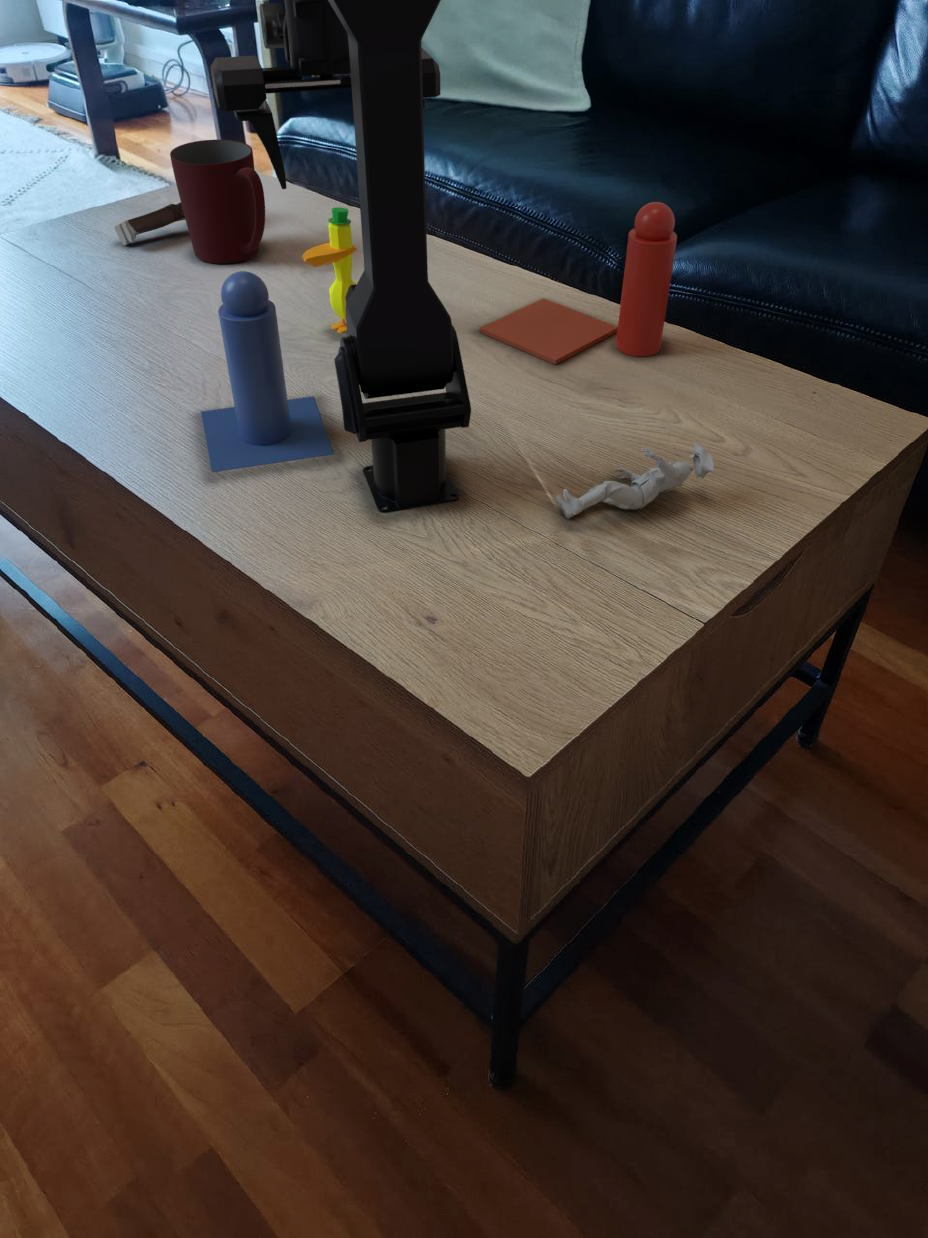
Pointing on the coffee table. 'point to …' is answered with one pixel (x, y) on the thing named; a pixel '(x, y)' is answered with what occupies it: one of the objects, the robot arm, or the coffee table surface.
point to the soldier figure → (639, 483)
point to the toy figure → (336, 261)
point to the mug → (220, 199)
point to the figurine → (149, 222)
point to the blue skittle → (254, 359)
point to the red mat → (549, 330)
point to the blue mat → (237, 453)
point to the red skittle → (646, 281)
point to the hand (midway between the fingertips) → (334, 183)
